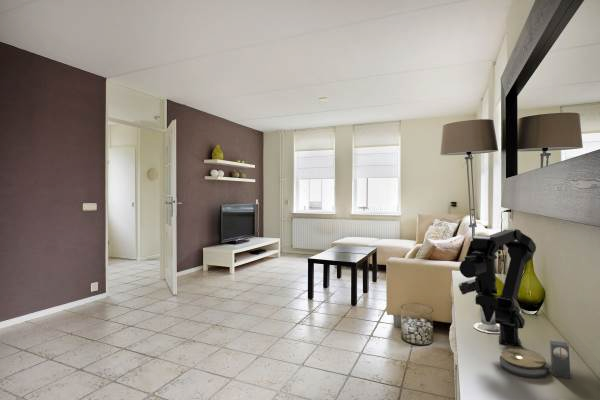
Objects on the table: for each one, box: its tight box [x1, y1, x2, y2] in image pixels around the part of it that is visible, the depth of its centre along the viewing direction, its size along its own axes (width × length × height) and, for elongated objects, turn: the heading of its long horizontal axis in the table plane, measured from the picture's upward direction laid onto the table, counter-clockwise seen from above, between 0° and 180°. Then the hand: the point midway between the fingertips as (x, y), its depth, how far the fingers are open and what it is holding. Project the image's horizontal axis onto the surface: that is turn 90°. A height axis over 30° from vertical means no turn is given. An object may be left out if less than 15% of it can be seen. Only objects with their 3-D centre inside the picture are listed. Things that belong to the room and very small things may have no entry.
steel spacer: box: [479, 306, 496, 325], centre depth 117 cm, size 4×4×5 cm
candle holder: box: [473, 322, 500, 334], centre depth 137 cm, size 12×12×4 cm
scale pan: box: [501, 348, 547, 369], centre depth 104 cm, size 11×11×1 cm
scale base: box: [499, 340, 572, 379], centre depth 103 cm, size 12×17×9 cm
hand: (488, 319), depth 117 cm, fingers closed on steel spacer, 4 cm apart
